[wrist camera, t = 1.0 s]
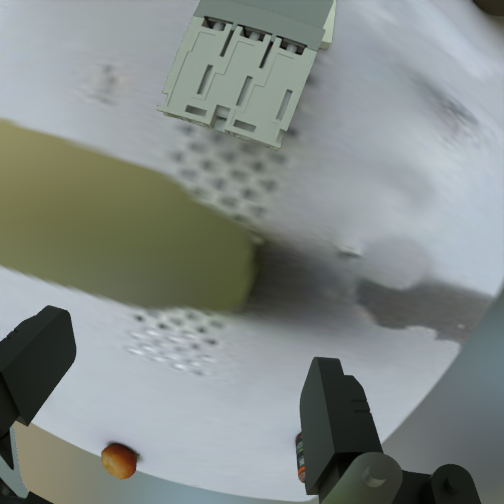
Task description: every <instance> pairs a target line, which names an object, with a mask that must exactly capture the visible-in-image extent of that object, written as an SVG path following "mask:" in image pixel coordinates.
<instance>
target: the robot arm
mask: <svg viewBox="0 0 504 504" xmlns="http://www.w3.org/2000/svg"><path fill="white" fill-rule="evenodd" d="M75 357H76V343H75V338H74V333H73V328H72V322H71V316H70V313H69V312H68V311H67V310H64V309H61V308H57V307H54V306H50V305H48V306H46V307H45V308H44V309H42V310H41V311H40V312H39V313H38V314H37V315H36V316H33V317H31V318H28V319H26V320H24V321H22V322H21V323H20V324H19V325H18V326H17V327H16V328H15V329H14V331H11V332H10V333H9V334H8V335H7V337H6V338H4V339H3V340H2V341H1V342H0V504H53V503H51V502H49V501H47V500H45V499H43V498H42V497H40V496H38V495H36V494H34V493H32V492H31V491H30V492H28V490H27V488H26V486H25V484H24V483H23V480H22V477H21V473H20V468H19V463H18V455H17V448H16V439H15V431H14V428H13V426H12V424H13V423H14V422H15V420H16V421H18V422H20V423H22V424H24V425H26V426H28V425H29V424H30V422H31V421H32V420H33V418H34V417H35V415H36V414H37V412H38V411H39V409H40V408H41V407H42V405H43V404H44V402H45V401H46V400H47V398H48V397H49V395H50V394H51V393H52V391H53V390H54V388H55V387H56V386H57V384H58V383H59V382H60V380H61V379H62V378H63V376H64V375H65V373H66V372H67V371H68V369H69V368H70V367H71V365H72V364H73V362H74V360H75ZM300 419H301V430H302V442H303V454H304V466H305V479H306V493H307V495H319V504H481V502H480V499H479V496H478V493H477V490H476V487H475V484H474V481H473V479H472V477H471V475H470V474H469V472H468V471H467V470H465V469H464V468H463V467H461V466H458V465H455V464H446V465H443V466H441V467H439V468H438V469H437V470H436V471H435V472H434V473H433V474H432V475H430V474H422V473H415V472H408V471H404V470H402V469H401V467H400V466H399V464H398V463H397V462H396V461H395V460H394V459H393V458H391V457H390V456H388V455H385V454H384V453H383V450H382V447H381V443H380V440H379V437H378V434H377V430H376V427H375V424H374V421H373V417H372V414H371V413H370V408H369V405H368V402H367V399H366V396H365V392H364V389H363V387H362V386H361V384H360V383H359V382H358V381H357V380H356V379H355V378H354V376H353V375H344V373H343V369H342V366H341V363H340V360H339V359H337V358H325V357H314V358H313V360H312V363H311V366H310V369H309V372H308V375H307V378H306V381H305V384H304V387H303V390H302V393H301V398H300Z"/></svg>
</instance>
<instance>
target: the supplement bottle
mask: <svg viewBox="0 0 504 504" xmlns="http://www.w3.org/2000/svg"><path fill="white" fill-rule="evenodd" d="M296 454H297V467H298V477H299V480H300V481H301V482H302V483H305V489H306V479H305V466H304V454H303V442H302V433H300V434H299V435H298V436H297V438H296Z"/></svg>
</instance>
